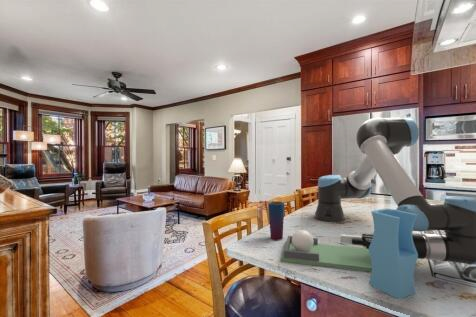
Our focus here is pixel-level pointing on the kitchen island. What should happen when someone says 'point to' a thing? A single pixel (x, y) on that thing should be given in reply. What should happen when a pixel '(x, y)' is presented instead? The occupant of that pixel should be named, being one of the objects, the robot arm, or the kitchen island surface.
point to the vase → (393, 252)
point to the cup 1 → (276, 219)
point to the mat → (336, 257)
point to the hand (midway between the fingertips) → (340, 238)
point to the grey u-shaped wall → (300, 252)
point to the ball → (302, 241)
